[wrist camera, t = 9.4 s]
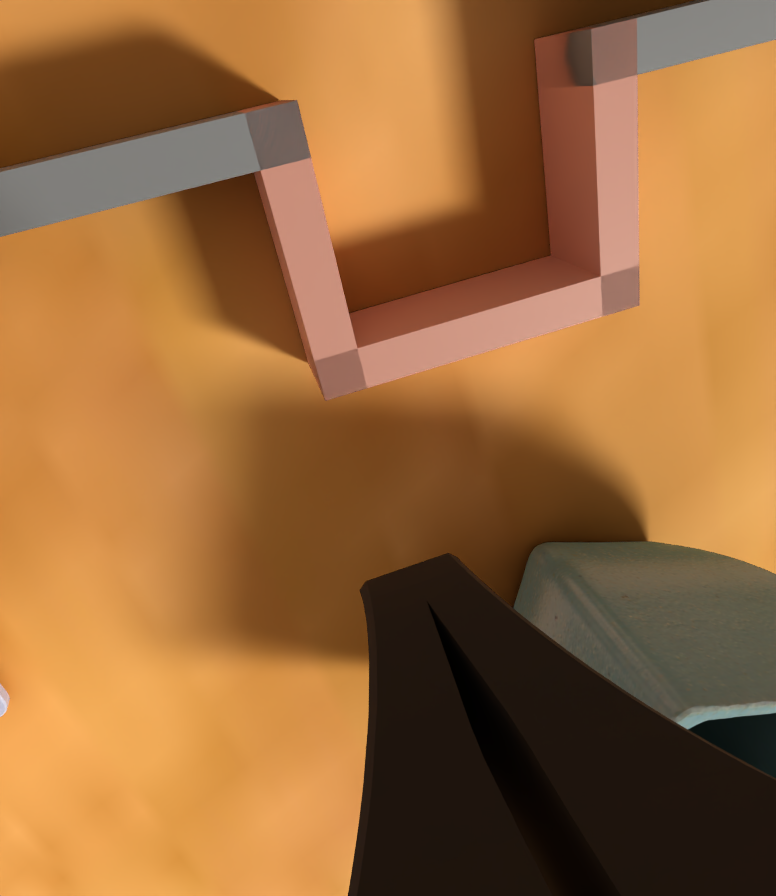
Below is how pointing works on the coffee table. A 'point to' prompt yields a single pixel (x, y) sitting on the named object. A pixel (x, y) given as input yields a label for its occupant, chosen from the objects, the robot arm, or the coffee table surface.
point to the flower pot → (667, 632)
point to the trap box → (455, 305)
